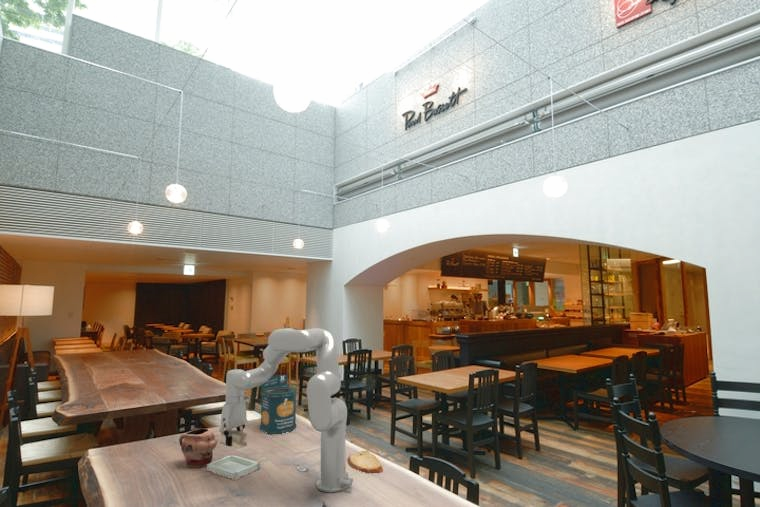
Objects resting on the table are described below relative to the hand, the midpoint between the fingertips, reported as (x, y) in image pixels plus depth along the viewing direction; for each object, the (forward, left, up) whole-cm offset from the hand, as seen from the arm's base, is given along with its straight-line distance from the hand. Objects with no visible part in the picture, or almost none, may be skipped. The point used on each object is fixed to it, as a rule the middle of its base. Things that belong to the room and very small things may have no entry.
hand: (233, 443), depth 166 cm
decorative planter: (+20, +4, -11) cm, 23 cm away
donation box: (+23, -48, -11) cm, 54 cm away
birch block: (0, 0, 0) cm, 0 cm away
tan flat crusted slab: (-46, -33, -11) cm, 57 cm away
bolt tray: (0, 0, -10) cm, 10 cm away
